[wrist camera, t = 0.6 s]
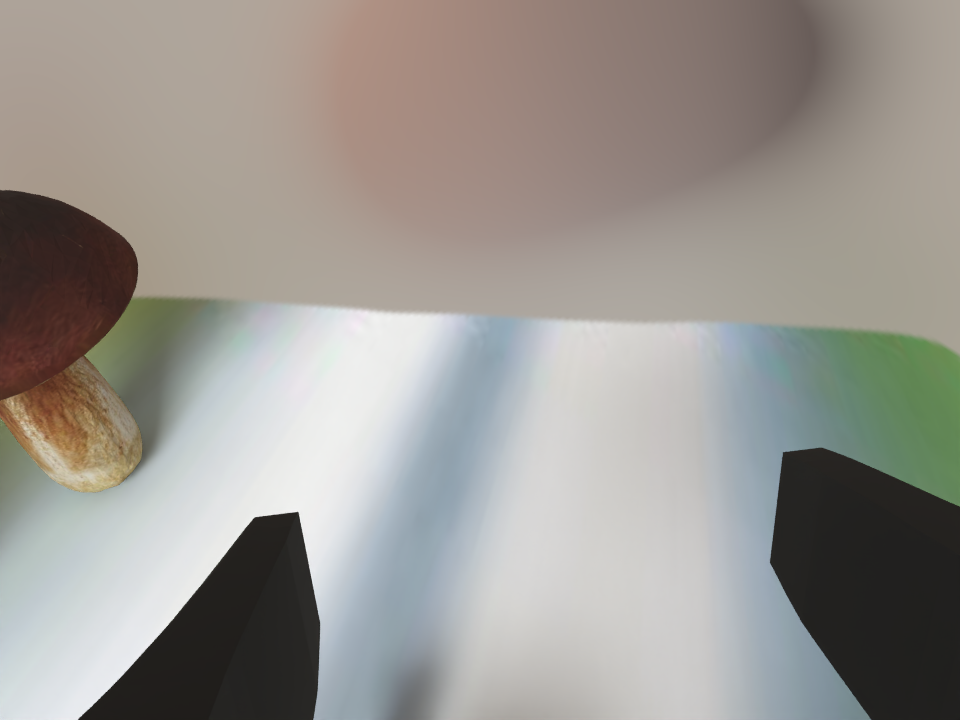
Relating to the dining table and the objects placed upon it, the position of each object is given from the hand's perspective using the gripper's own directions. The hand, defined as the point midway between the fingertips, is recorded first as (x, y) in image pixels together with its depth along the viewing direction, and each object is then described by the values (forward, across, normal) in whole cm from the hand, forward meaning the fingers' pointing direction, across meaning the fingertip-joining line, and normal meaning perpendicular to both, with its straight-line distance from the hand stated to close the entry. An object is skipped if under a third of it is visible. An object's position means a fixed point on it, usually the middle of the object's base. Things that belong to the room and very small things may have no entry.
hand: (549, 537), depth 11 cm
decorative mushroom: (+23, +16, +11) cm, 31 cm away
